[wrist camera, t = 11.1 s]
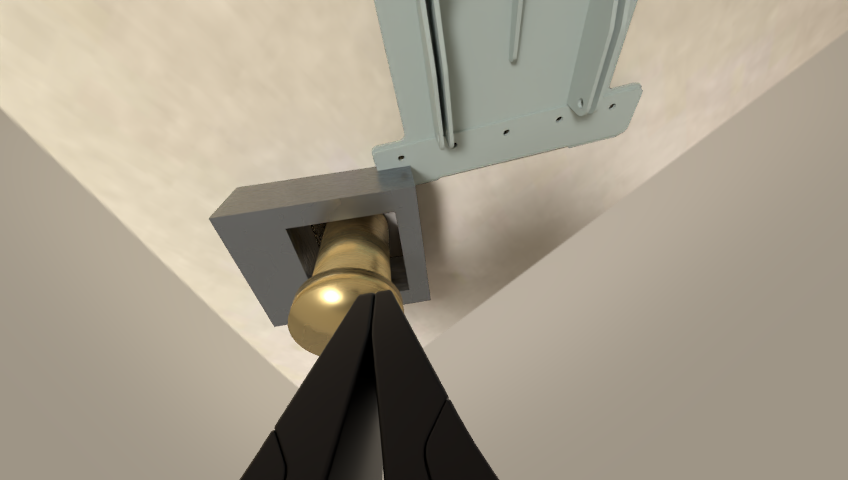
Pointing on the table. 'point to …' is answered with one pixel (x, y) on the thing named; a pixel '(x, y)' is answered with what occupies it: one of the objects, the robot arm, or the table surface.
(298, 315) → the knob
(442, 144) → the metal bracket
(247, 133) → the table surface
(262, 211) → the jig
